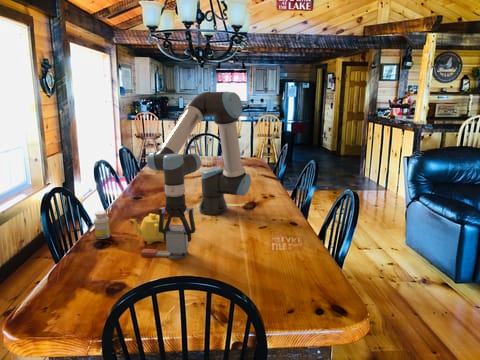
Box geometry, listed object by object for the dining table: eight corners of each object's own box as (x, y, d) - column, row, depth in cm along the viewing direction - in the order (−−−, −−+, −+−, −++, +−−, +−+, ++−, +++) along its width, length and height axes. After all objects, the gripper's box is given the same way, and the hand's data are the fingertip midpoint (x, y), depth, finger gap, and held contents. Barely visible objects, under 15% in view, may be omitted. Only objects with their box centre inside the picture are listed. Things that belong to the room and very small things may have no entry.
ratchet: (145, 250, 157) (144, 236, 155) (187, 251, 155) (186, 237, 154) (139, 258, 150) (138, 243, 148) (183, 259, 149) (183, 244, 147)
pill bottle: (107, 232, 176) (104, 209, 173) (113, 236, 172) (110, 212, 169) (93, 236, 172) (90, 212, 169) (99, 240, 167) (96, 216, 164)
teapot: (149, 232, 177) (147, 208, 174) (175, 236, 172) (174, 211, 169) (130, 243, 164) (128, 218, 161) (159, 248, 159) (157, 221, 156)
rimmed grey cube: (171, 245, 155) (170, 224, 153) (188, 245, 155) (187, 225, 152) (167, 252, 149) (165, 231, 146) (185, 253, 148) (183, 231, 146)
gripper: (146, 196, 143) (151, 252, 149) (198, 197, 141) (201, 253, 147) (152, 190, 150) (156, 244, 156) (202, 191, 148) (204, 245, 154)
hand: (178, 248), depth 151 cm, fingers closed on rimmed grey cube, 7 cm apart
